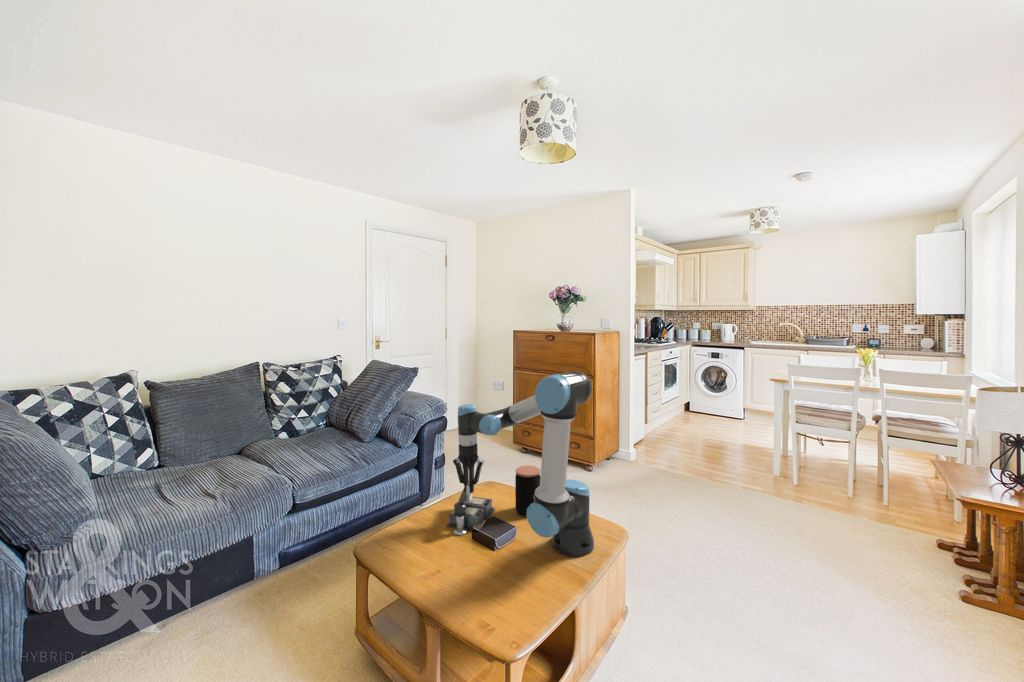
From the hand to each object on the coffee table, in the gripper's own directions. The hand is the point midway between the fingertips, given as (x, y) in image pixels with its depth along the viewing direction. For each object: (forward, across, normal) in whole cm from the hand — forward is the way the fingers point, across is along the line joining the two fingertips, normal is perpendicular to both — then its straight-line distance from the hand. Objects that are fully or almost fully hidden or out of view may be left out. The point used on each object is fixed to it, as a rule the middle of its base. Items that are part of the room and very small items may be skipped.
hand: (469, 500), depth 166 cm
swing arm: (+1, +2, 0) cm, 3 cm away
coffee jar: (+9, -21, -14) cm, 27 cm away
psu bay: (+9, 0, -2) cm, 9 cm away
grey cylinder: (+9, 0, +9) cm, 13 cm away
